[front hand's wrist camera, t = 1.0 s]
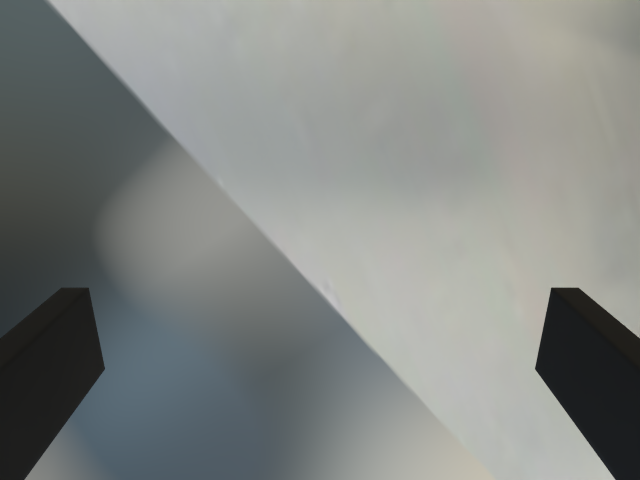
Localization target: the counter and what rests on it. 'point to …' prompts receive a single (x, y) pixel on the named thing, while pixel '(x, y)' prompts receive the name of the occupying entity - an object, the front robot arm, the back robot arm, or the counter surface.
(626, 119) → the counter surface
